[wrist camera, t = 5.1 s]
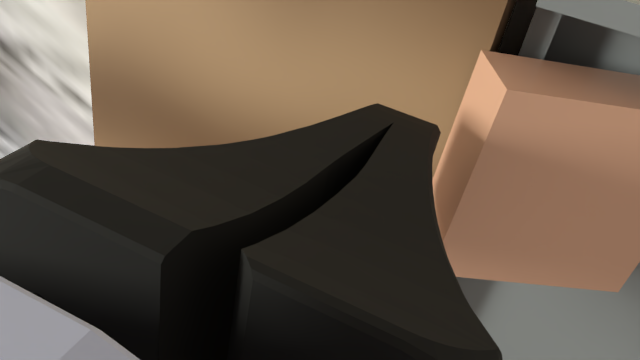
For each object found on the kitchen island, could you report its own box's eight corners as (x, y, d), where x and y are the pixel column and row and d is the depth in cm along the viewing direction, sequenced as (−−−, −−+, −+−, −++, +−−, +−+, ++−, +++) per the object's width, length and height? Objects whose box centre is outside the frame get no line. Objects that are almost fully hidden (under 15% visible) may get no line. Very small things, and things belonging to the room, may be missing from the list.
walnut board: (383, 362, 20) (358, 417, 19) (146, 248, 23) (103, 286, 21) (536, -53, 12) (518, -31, 11) (145, -159, 15) (75, -157, 13)
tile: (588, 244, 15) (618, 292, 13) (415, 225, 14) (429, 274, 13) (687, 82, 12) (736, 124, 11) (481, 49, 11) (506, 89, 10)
